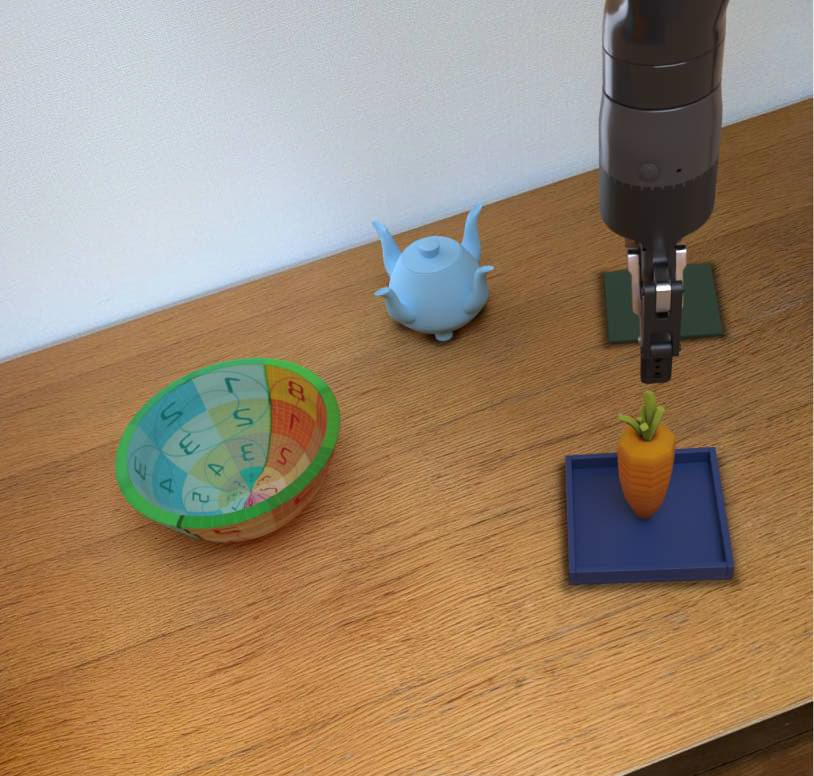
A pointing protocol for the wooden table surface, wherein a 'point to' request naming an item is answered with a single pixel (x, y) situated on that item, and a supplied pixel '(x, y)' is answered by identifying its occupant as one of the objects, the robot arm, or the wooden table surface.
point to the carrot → (646, 458)
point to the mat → (696, 311)
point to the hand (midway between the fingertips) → (650, 341)
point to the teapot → (435, 280)
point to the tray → (647, 523)
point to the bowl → (230, 449)
